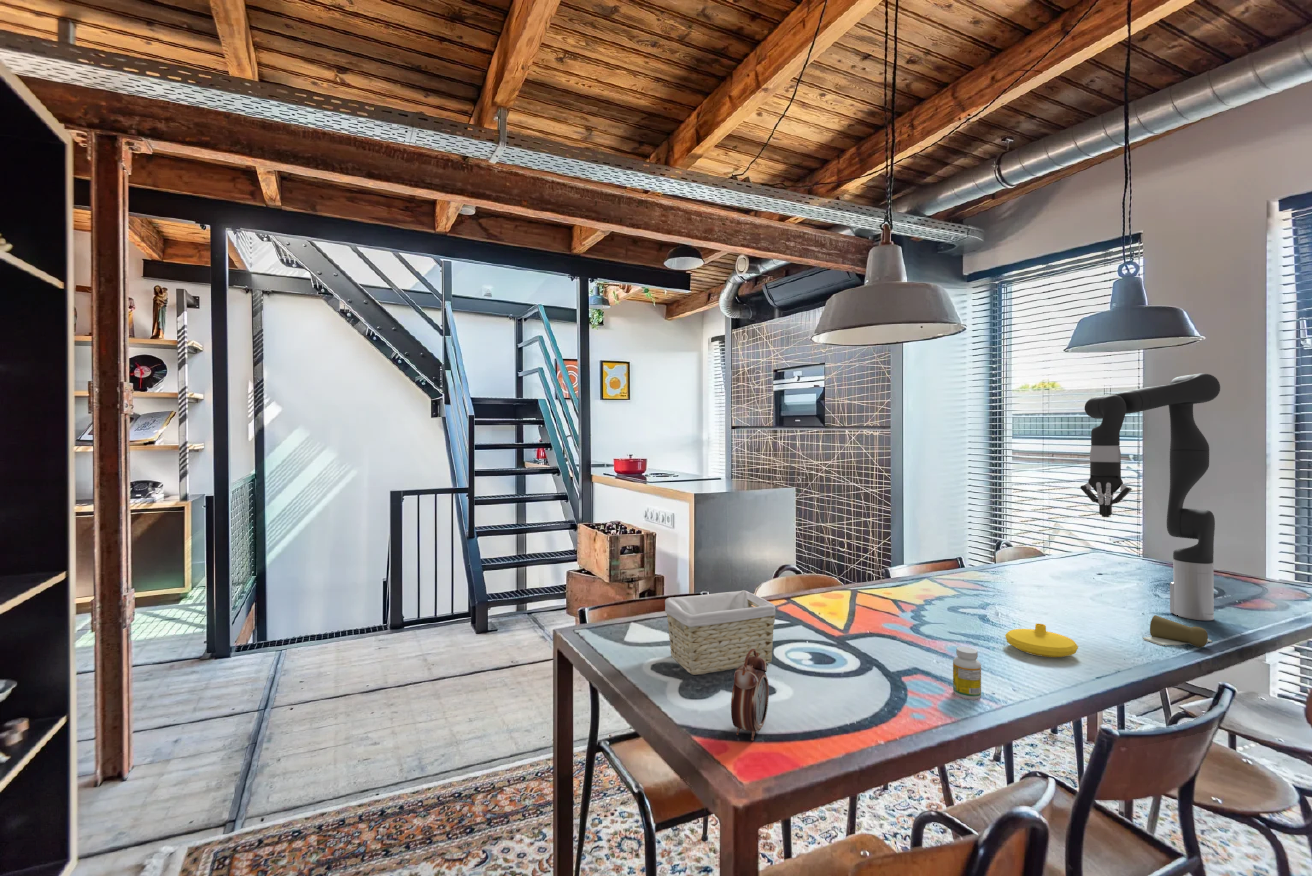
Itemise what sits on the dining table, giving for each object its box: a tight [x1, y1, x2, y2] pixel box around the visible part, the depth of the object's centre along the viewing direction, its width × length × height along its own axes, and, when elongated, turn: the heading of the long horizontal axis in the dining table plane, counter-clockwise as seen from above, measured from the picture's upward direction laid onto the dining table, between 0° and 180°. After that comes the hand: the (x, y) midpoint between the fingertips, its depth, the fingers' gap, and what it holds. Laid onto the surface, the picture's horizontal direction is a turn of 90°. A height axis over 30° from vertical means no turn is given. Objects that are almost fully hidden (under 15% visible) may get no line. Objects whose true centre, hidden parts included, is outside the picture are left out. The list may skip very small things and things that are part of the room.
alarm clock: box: [730, 649, 770, 742], centre depth 110 cm, size 11×5×15 cm, turn 155°
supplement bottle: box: [952, 646, 982, 701], centre depth 126 cm, size 5×5×10 cm
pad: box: [1142, 636, 1213, 646], centre depth 160 cm, size 6×16×1 cm, turn 101°
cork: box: [1149, 614, 1209, 648], centre depth 159 cm, size 6×6×11 cm
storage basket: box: [664, 589, 776, 676], centre depth 146 cm, size 24×16×15 cm
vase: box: [1004, 623, 1079, 658], centre depth 152 cm, size 16×16×7 cm
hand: (1105, 516), depth 181 cm, fingers closed
